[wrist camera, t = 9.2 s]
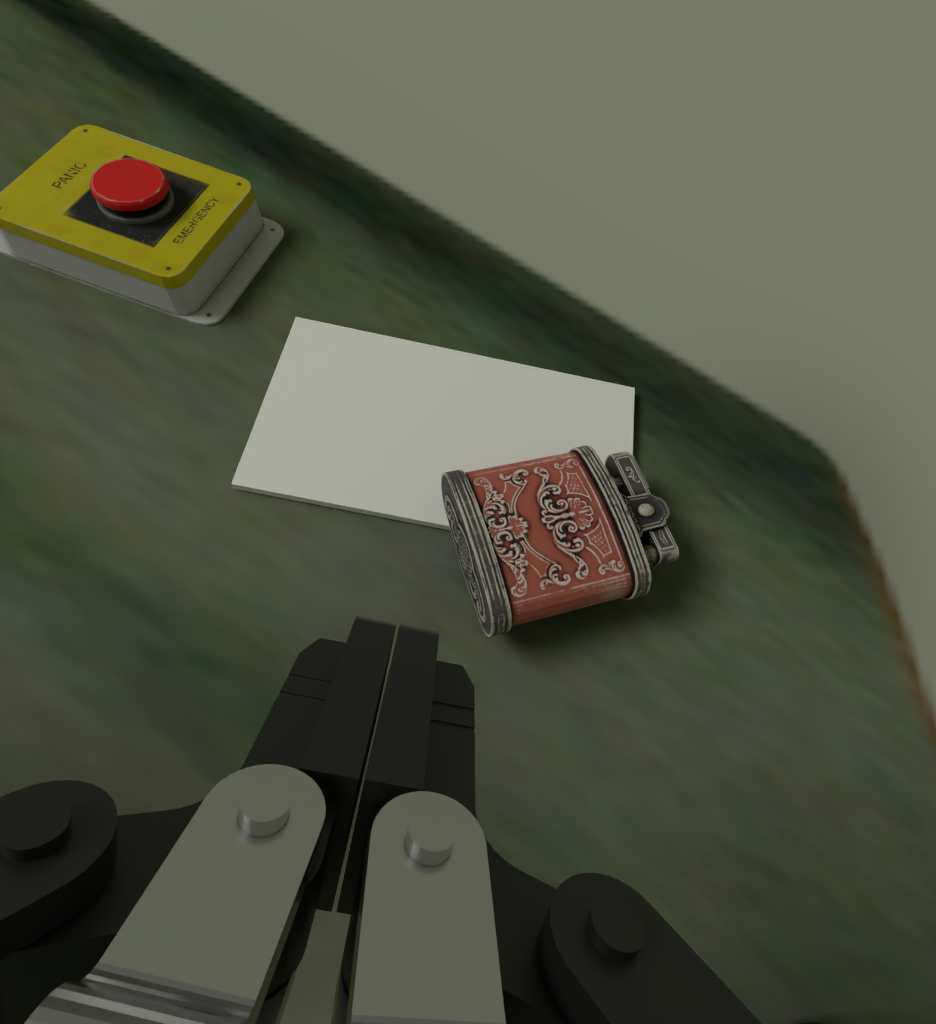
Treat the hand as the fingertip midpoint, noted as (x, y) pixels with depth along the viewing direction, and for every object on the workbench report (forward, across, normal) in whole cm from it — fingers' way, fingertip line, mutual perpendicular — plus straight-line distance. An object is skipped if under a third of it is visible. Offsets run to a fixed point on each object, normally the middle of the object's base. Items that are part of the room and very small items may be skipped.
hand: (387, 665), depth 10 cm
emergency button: (+29, +20, -6) cm, 36 cm away
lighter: (+15, -2, +4) cm, 15 cm away
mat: (+22, 0, 0) cm, 22 cm away
